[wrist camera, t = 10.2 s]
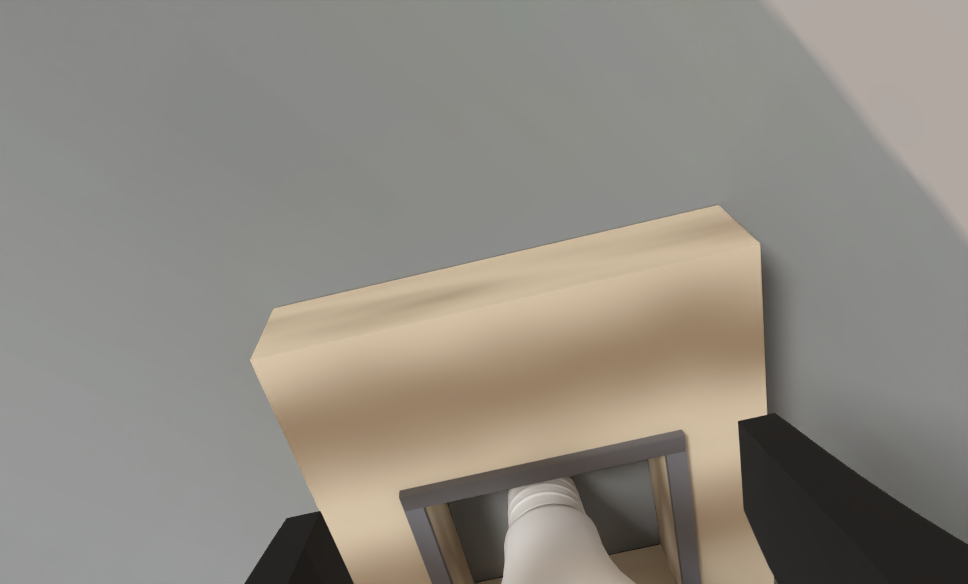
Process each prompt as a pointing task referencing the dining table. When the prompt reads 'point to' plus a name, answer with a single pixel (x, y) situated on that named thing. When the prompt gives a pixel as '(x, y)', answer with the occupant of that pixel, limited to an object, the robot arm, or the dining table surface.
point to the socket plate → (532, 395)
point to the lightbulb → (554, 539)
